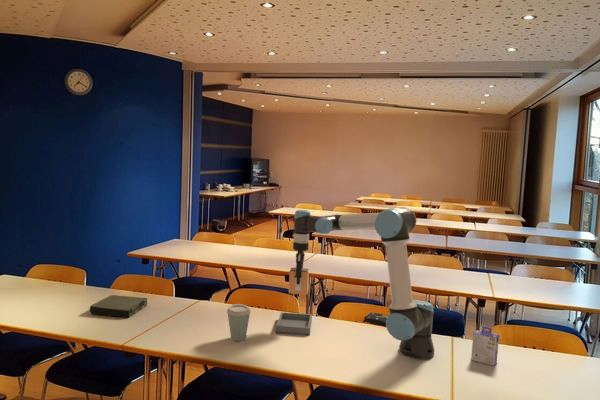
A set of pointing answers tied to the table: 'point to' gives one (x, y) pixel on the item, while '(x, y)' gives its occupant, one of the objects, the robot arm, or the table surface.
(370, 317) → the disk drive
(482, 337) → the ink cartridge box
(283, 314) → the tray
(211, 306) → the table surface
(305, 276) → the toner caddy
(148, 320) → the table surface
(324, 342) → the table surface
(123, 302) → the network switch
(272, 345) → the table surface
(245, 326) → the disposable coffee cup
